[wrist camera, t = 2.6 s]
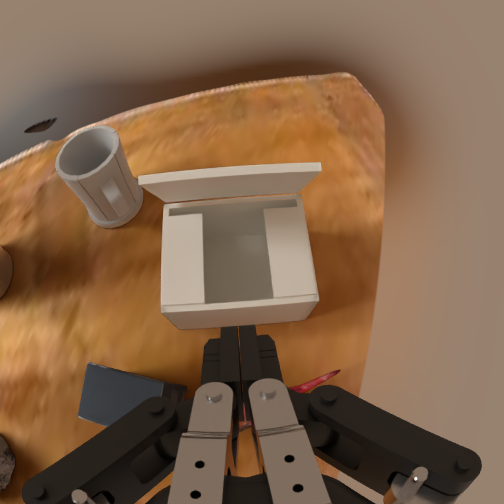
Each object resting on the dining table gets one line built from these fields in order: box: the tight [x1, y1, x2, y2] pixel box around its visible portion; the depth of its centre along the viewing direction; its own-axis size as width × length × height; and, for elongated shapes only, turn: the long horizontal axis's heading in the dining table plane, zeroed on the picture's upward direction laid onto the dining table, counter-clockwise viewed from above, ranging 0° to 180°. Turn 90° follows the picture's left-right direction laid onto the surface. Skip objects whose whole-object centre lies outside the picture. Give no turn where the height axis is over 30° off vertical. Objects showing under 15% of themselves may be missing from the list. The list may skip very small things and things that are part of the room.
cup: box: [55, 125, 143, 228], centre depth 39 cm, size 10×9×12 cm
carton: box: [161, 194, 319, 330], centre depth 36 cm, size 12×15×9 cm
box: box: [78, 362, 187, 427], centre depth 29 cm, size 8×6×11 cm
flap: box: [138, 162, 322, 203], centre depth 29 cm, size 1×14×10 cm, turn 94°
